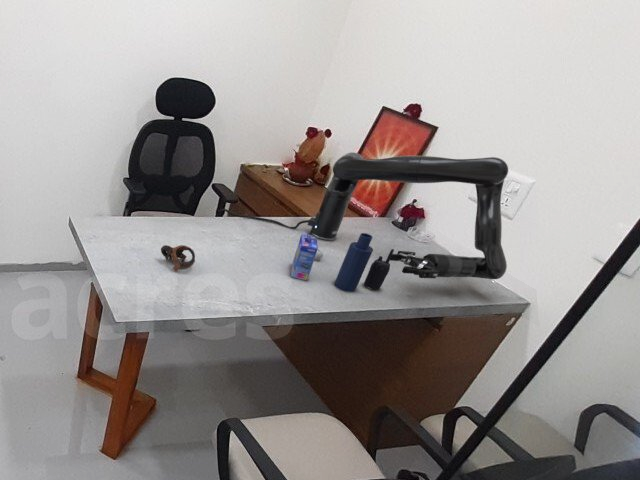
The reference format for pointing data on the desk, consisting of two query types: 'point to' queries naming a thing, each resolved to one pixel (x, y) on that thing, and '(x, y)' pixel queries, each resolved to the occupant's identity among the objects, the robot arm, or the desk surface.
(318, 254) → the smooth white sculpture
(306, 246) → the ink cartridge box
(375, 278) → the two-way radio
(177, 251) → the brown curled piece
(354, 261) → the bottle
